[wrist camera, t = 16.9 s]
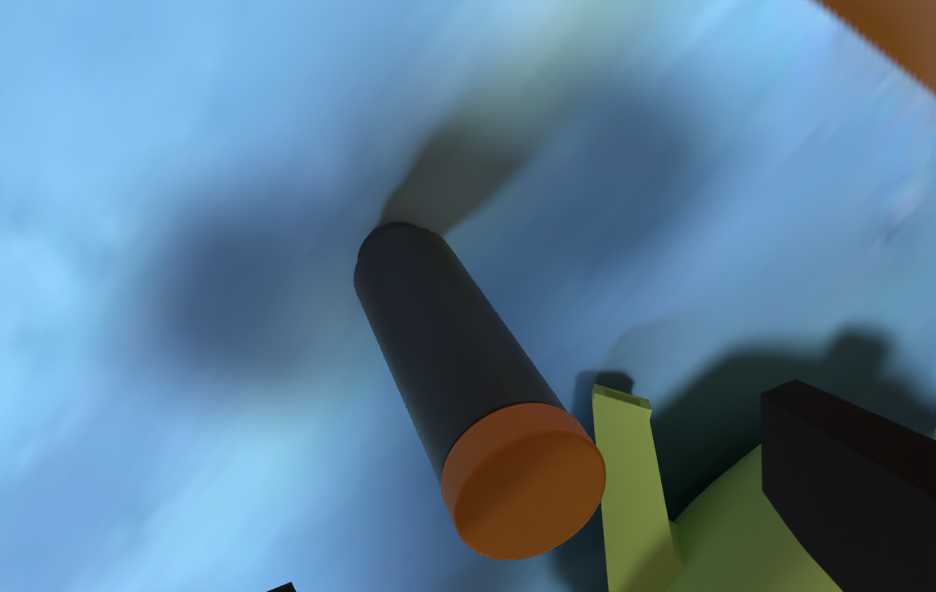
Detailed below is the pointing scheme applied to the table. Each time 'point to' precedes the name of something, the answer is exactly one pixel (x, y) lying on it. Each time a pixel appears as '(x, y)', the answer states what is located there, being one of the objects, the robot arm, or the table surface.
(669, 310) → the table surface
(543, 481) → the marker
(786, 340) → the table surface
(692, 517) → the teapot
